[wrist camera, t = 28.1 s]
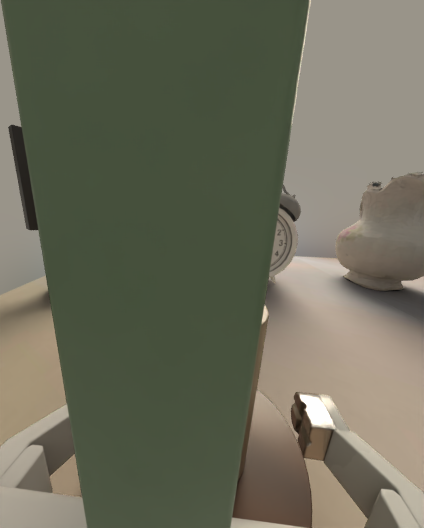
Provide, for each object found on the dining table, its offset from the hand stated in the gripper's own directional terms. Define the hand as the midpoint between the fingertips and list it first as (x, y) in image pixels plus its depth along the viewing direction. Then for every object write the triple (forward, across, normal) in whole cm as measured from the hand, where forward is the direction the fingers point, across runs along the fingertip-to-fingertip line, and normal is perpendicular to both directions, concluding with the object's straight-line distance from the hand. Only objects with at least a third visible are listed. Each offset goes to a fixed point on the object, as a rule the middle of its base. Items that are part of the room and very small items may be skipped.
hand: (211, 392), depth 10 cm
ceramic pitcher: (+42, -38, +6) cm, 57 cm away
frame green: (0, 0, +4) cm, 4 cm away
